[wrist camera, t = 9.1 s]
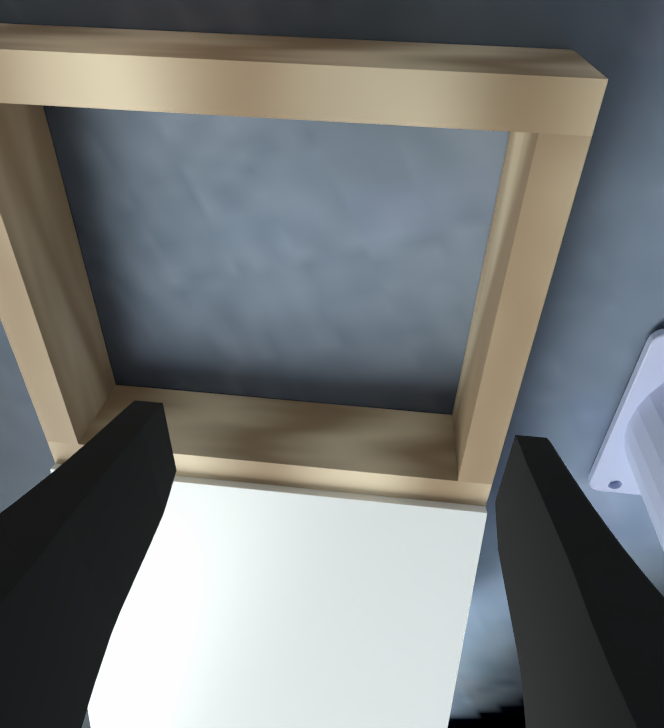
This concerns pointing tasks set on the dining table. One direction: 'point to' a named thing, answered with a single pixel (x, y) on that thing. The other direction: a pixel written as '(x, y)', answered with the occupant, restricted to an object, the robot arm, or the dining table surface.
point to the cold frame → (285, 417)
